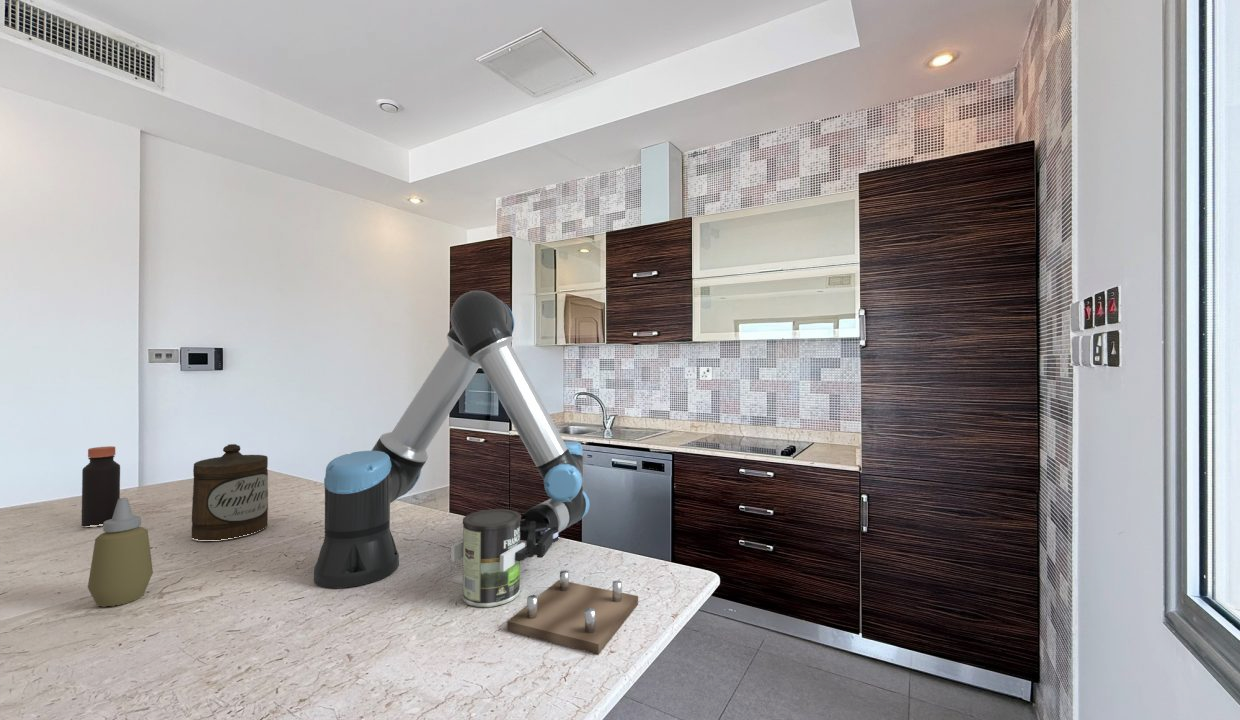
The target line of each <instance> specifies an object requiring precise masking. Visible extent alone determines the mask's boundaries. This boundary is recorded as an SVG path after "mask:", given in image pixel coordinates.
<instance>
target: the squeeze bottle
mask: <svg viewBox="0 0 1240 720" xmlns="http://www.w3.org/2000/svg"><path fill="white" fill-rule="evenodd" d="M141 518H142V517H141V516H140V515H135V514H134V515H133V512H132V509H131V505H130V503H129V499H128V497H121V498H120V499H118V501H117V504H116V508H115V511H114V514H113V517H112V519H109V520H107V521H105V522H104V523H103V526H102V531H103V532H102V533H101V534H99V535H98V536H97V537H96V538H95V539H94V545H93V551H92V558H91V565H90V570H89V578H88V582H87V589H88V590H89V593H90V595H91V597H92V599H93V601H94V602H95V605H96V606H97V605H98V606H102V607H101V608H107V607H106V606H112V607H116V606H115V605H117V606H122V605H125V604H128V603H132V602H134V601H136V599H137V600H139V599H140V598H142V597H144V595H145V593H146V590H147V588H148V585H149V583H150V581H151V578H152V577H153V574H154V570H153V569H154V568H153V561H152V553H151V547H150V546H151V545H150V539H149V537H150V536H149V530H148V529H147V528H145V527H143V526H141V523H142V522H141V520H142V519H141ZM141 596H142V597H141ZM138 598H139V599H138ZM133 600H134V601H133ZM131 601H132V602H131ZM121 604H122V605H121ZM98 606H97V607H98Z"/></svg>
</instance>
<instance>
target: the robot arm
mask: <svg viewBox="0 0 1240 720" xmlns="http://www.w3.org/2000/svg"><path fill="white" fill-rule="evenodd" d="M450 323H451V328H450V330H449V331H448V333H447V335H446V339H447V342H448V345H447V347H446V349H445V350H444V351H443V353H442V354H441V356H440V358H439V359H438V360H437V361H436V363H435V365H434V366H433V369H431V371H430V373H429V374H428V376H427V377H426V379H425V380H424V382H423V383H422V384H421V386H420V388H419V390H418V391H417V393H416V394H415V396H414V397H413V398H412V399H411V402H410V403H409V405H408V406H407V408H406V410H405V411H404V413H403V414H402V416H400V419H399V420H398V422H397V423H396V425H395V426H394V428H393V430H392V431H391V432H387V433H383V434H381V436H379V438H378V440H377V441H376V443H375V445H374V446H373V448H372V449H371V450H361V451H353V452H351V453H345V454H342V455H339V456H337V457H334V458H333V459H332V460H330V461H329V463H328V464H327V466H326V468H325V475H324V476H325V477H324V480H323V485H324V539H323V543H322V545H321V548H320V551H319V553H318V557H317V560H316V563H315V564H314V567H313V582H314V584H315V585H317V586H320V587H322V588H323V587H324V588H328V589H330V588H331V589H343V588H352V587H353V588H354V587H359V586H363V585H367V584H371V583H374V582H377V581H380V580H382V579H385V578H386V577H389V576H391V575H392V574H393V573H395V572H396V571H397V570H398V568H399V564H400V563H399V560H400V559H399V558H400V555H399V551H398V550H397V547H396V543H395V540H394V537H393V534H392V532H391V522H390V521H391V520H390V519H391V504H392V503H393V502H394V501H396V500H398V499H399V498H400V497H402V496H405V495H406V494H407V493H408V492H410V491H411V490H412V489H413V488H414V487H415V485H416V484H417V482H418V481H419V480H420V479H419V478H420V477H421V474H422V469H423V467H424V465H426V463H427V461H428V457H429V456H428V451H427V449H428V447H429V446H430V444H431V442H432V441H433V439H434V438H435V436H436V435H437V433H438V432H439V430H440V428H441V427H442V425H443V424H444V423H445V421H446V419H447V418H448V416H449V415H450V413H451V411H452V410H453V409H454V407H455V405H456V403H457V402H458V401H459V399H460V397H461V396H462V395H463V393H464V391H465V390H466V388H467V386H468V385H469V384H470V383H471V381H472V379H473V377H474V376H475V374H476V373H477V371H478V370H479V368H481V370H482V371H483V373H484V375H485V377H486V379H487V381H488V382H489V384H490V386H491V387H492V389H493V391H494V392H495V394H496V396H497V398H498V400H499V402H500V403H501V405H502V407H503V409H504V411H505V412H506V414H507V416H508V418H509V419H510V422H511V423H512V425H513V427H514V429H515V431H516V432H517V434H518V437H519V438H520V439H521V441H522V443H523V444H524V445H523V446H525V448H526V450H527V452H528V454H529V456H530V457H531V459H532V462H533V463H534V465H535V467H536V469H537V471H538V473H539V474H540V476H541V478H542V479H543V485H544V486H543V487H544V490H545V492H546V494H547V496H548V497H549V499H547V500H545V501H543V502H541V503H538V504H537V505H535V506H532V507H531V508H529V509H526V511H524V513H523V515H521V519H520V541H526V542H520V544H518V545H517V546H515V547H513V548H511V549H510V550H508V551H506V552H504V553H503V554H501V555H500V571H503V572H504V571H505V570H507V569H508V568H510V567H512V566H513V565H515V564H516V563H518V562H519V561H520V562H522V561H524V560H525V559H527V558H533V557H534V556H536V557H537V559H541V558H544V556H546V554H547V552H548V551H549V549H550V548H551V547H552V545H553V544H554V543H555V542H557V541H559V533H561V532H562V531H564V530H566V529H567V528H569V527H571V526H573V525H574V524H577V523H579V522H580V521H581V520H582V519H583V518H584V517H585V516H586V515H588V512H589V510H590V505H591V504H590V503H591V502H590V499H589V497H588V495H587V493H586V492H585V491H584V489H583V475H584V474H583V470H584V469H583V467H584V454H583V445H582V443H580V442H578V441H570V440H569V441H566V440H565V441H564V439H563V437H562V435H561V433H560V432H559V430H558V428H557V426H556V424H555V422H554V421H553V419H552V417H551V415H550V413H549V412H548V410H547V408H546V406H545V404H544V402H543V400H542V399H541V396H540V395H539V393H538V392H537V390H536V388H535V386H534V385H533V382H532V380H531V378H530V377H529V375H528V373H527V372H526V370H525V367H524V366H523V364H522V362H521V361H520V359H519V356H518V354H517V353H516V351H515V350H514V348H513V346H512V342H513V339H514V338H513V332H514V329H515V317H514V315H513V312H512V310H511V309H510V307H509V306H508V305H507V303H505V302H504V301H503V300H501V299H499V298H498V297H496V295H494V294H492V293H491V292H488V291H485V290H470V291H467V292H465V293H463V294H462V295H460V296H458V298H457V299H456V300H455V301H454V302H453V305H452V307H451V310H450ZM450 548H451V549H450V561H451V562H456V561H458V560H459V559H462V558H463V539H462V540H461V541H458V542H455V543H454V544H452V545H451V546H450Z"/></svg>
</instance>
